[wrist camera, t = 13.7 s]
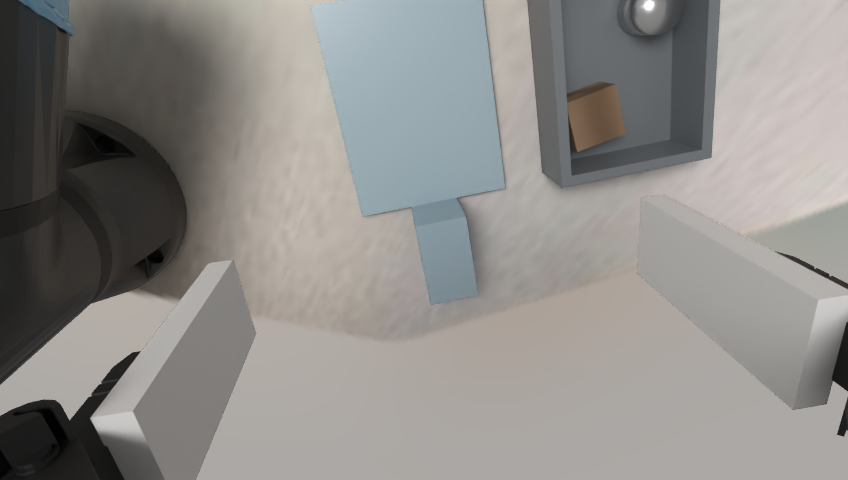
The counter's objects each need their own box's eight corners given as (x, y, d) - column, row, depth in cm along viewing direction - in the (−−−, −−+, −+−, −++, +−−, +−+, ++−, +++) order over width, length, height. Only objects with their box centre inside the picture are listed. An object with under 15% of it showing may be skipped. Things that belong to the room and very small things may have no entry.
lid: (379, 282, 44) (379, 315, 39) (312, 7, 36) (299, -1, 30) (511, 255, 45) (529, 284, 39) (476, -26, 36) (494, -39, 30)
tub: (542, 172, 42) (562, 187, 37) (524, -33, 36) (545, -45, 31) (674, 145, 42) (711, 157, 37) (680, -64, 36) (724, -80, 31)
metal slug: (617, 40, 38) (636, 39, 35) (615, -11, 36) (635, -15, 33) (661, 30, 38) (683, 29, 35) (661, -20, 36) (685, -26, 33)
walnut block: (563, 144, 40) (577, 152, 38) (552, 99, 39) (565, 103, 36) (608, 127, 40) (625, 133, 37) (599, 81, 39) (615, 84, 36)
